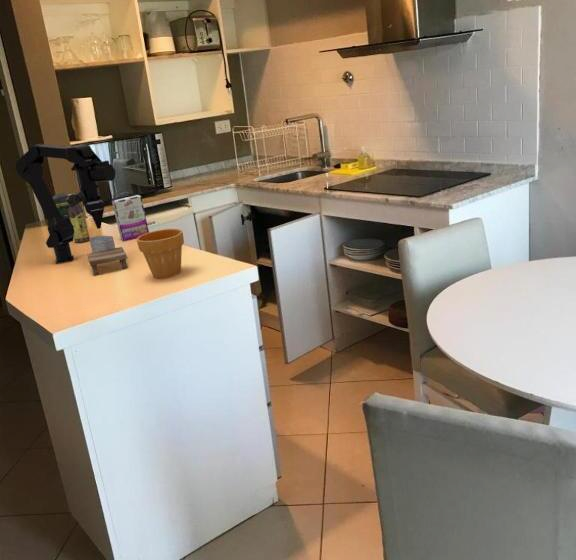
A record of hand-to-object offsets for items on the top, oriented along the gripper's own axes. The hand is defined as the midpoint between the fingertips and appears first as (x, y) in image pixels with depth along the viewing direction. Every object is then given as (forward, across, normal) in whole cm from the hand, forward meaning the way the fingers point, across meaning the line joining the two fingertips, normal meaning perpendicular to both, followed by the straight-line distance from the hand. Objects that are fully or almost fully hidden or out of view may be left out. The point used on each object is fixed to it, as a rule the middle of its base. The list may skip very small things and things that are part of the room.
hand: (98, 226), depth 222 cm
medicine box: (+13, 0, 0) cm, 13 cm away
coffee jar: (+13, -59, -10) cm, 61 cm away
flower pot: (+13, +35, +16) cm, 41 cm away
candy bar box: (+13, -28, +14) cm, 34 cm away
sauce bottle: (+13, -41, -6) cm, 43 cm away
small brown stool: (+13, +12, 0) cm, 17 cm away
